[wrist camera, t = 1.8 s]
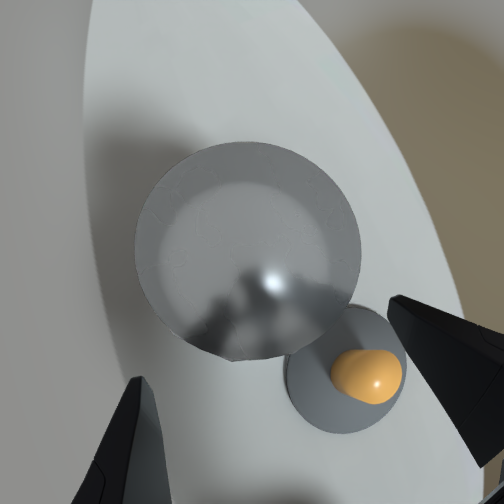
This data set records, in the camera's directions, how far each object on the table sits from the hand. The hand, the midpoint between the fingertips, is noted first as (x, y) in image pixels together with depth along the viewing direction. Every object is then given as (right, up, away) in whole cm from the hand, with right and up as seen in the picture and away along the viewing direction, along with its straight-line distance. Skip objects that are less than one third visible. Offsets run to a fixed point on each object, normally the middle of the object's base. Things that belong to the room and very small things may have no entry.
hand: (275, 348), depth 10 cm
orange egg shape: (+6, -5, +9) cm, 12 cm away
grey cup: (-2, 0, +11) cm, 11 cm away
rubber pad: (+6, -5, +10) cm, 13 cm away
